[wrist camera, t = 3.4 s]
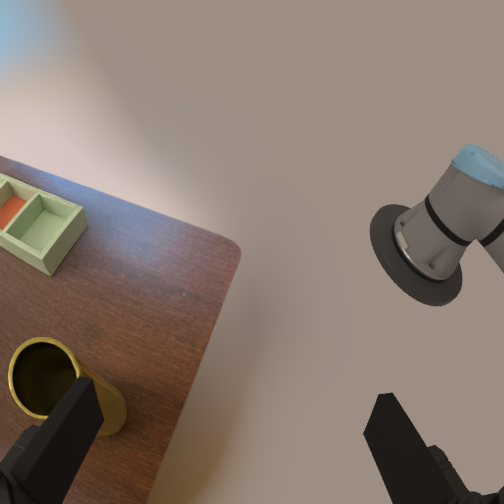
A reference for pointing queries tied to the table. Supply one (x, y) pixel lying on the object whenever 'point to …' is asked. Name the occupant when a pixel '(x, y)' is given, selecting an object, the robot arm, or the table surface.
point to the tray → (38, 224)
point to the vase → (58, 382)
